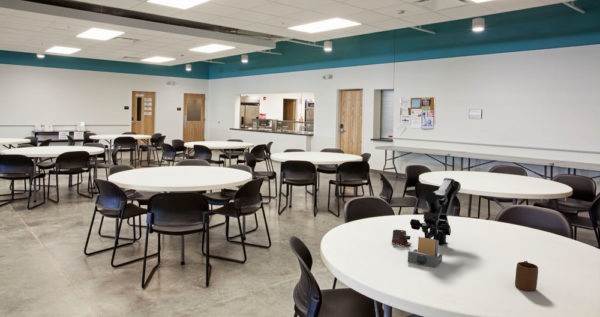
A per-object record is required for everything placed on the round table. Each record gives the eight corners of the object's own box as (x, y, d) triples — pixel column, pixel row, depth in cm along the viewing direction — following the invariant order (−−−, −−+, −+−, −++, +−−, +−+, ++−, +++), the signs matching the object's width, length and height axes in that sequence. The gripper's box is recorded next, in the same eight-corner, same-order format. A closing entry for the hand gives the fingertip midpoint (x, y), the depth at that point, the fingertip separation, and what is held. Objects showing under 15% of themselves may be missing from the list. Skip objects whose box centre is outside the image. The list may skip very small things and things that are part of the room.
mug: (513, 278, 171) (515, 257, 170) (533, 282, 168) (536, 260, 167) (515, 289, 160) (517, 266, 159) (537, 293, 157) (539, 270, 156)
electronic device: (407, 247, 207) (408, 233, 207) (391, 243, 214) (391, 229, 214) (411, 245, 211) (412, 231, 210) (395, 241, 217) (396, 227, 217)
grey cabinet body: (414, 255, 196) (415, 245, 196) (441, 260, 190) (442, 250, 189) (406, 262, 186) (407, 251, 186) (435, 268, 180) (436, 257, 179)
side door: (418, 254, 196) (419, 236, 195) (437, 258, 191) (439, 239, 190) (417, 255, 195) (418, 237, 194) (436, 260, 190) (438, 240, 189)
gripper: (412, 202, 202) (403, 229, 194) (451, 208, 192) (444, 236, 184) (415, 215, 209) (407, 241, 201) (453, 221, 199) (447, 249, 191)
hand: (426, 241), depth 194 cm, fingers closed
